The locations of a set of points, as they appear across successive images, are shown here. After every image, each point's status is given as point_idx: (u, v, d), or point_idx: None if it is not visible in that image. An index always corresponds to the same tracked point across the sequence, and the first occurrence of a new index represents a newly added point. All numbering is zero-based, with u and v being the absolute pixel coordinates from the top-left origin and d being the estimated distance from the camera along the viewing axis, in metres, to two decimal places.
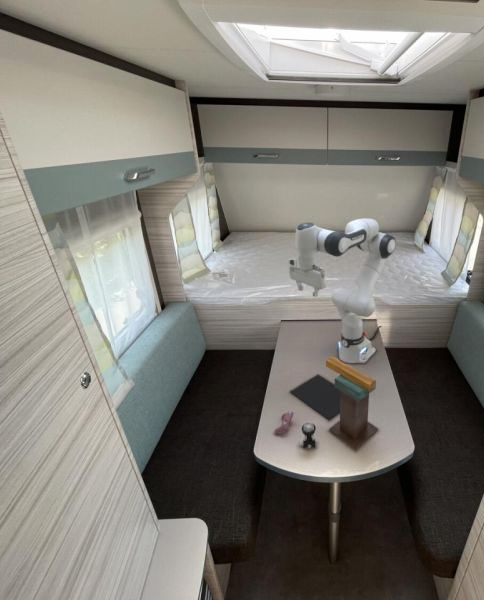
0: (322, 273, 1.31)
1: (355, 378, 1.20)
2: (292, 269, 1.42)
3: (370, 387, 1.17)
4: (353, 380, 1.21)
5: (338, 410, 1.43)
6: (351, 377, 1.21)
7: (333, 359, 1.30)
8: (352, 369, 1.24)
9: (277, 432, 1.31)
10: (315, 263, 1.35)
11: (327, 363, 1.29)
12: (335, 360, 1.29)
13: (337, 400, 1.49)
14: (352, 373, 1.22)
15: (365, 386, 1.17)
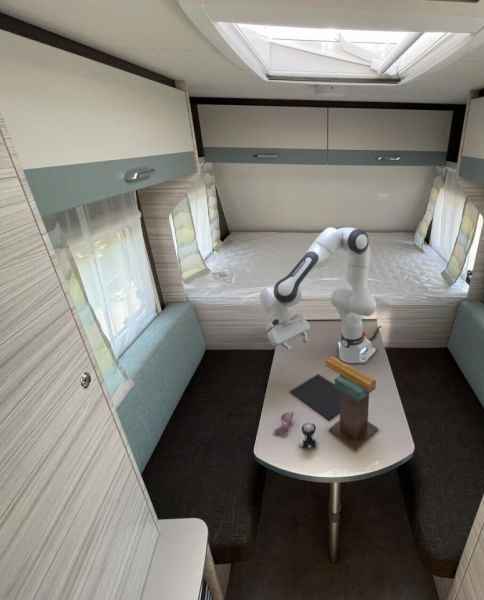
0: (301, 316, 1.52)
1: (355, 378, 1.20)
2: (275, 332, 1.39)
3: (370, 387, 1.17)
4: (353, 380, 1.21)
5: (338, 410, 1.43)
6: (351, 377, 1.21)
7: (333, 359, 1.30)
8: (352, 369, 1.24)
9: (277, 432, 1.31)
10: None
11: (327, 363, 1.29)
12: (335, 360, 1.29)
13: (337, 400, 1.49)
14: (352, 373, 1.22)
15: (365, 386, 1.17)
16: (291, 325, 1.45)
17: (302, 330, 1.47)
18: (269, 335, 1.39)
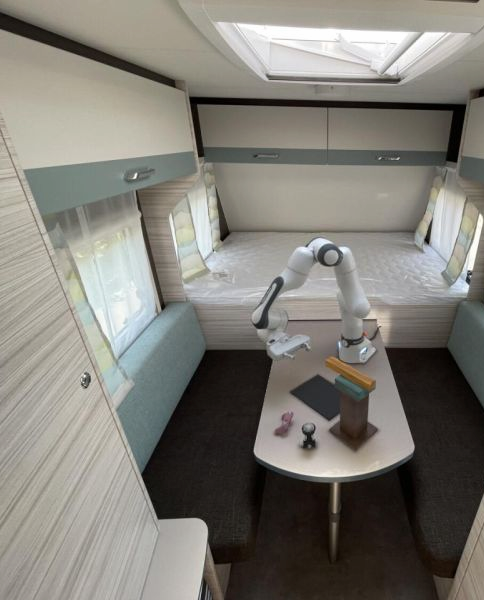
0: None
1: (355, 378, 1.20)
2: (274, 348, 1.44)
3: (370, 387, 1.17)
4: (353, 380, 1.21)
5: (338, 410, 1.43)
6: (351, 377, 1.21)
7: (333, 359, 1.30)
8: (352, 369, 1.24)
9: (277, 432, 1.31)
10: None
11: (327, 363, 1.29)
12: (335, 360, 1.29)
13: (337, 400, 1.49)
14: (352, 373, 1.22)
15: (365, 386, 1.17)
16: (290, 341, 1.50)
17: (302, 341, 1.49)
18: (270, 354, 1.44)
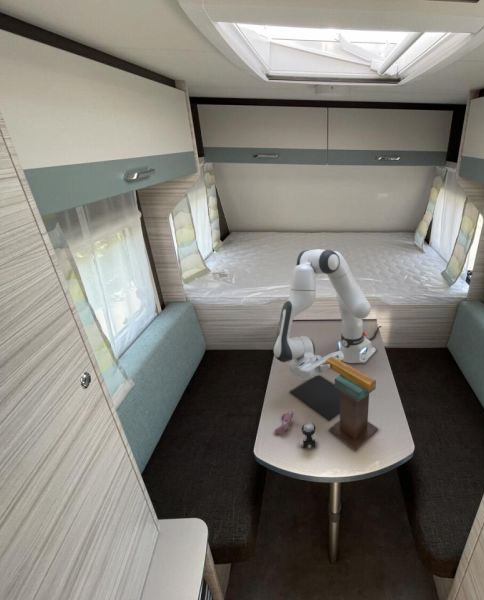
0: None
1: (355, 378, 1.20)
2: (305, 368, 1.31)
3: (370, 387, 1.17)
4: (353, 380, 1.21)
5: (338, 410, 1.43)
6: (351, 377, 1.21)
7: (333, 359, 1.30)
8: (352, 369, 1.24)
9: (277, 432, 1.31)
10: None
11: (327, 363, 1.29)
12: (335, 360, 1.29)
13: (337, 400, 1.49)
14: (352, 373, 1.22)
15: (365, 386, 1.17)
16: (321, 360, 1.37)
17: (333, 355, 1.36)
18: (302, 375, 1.30)
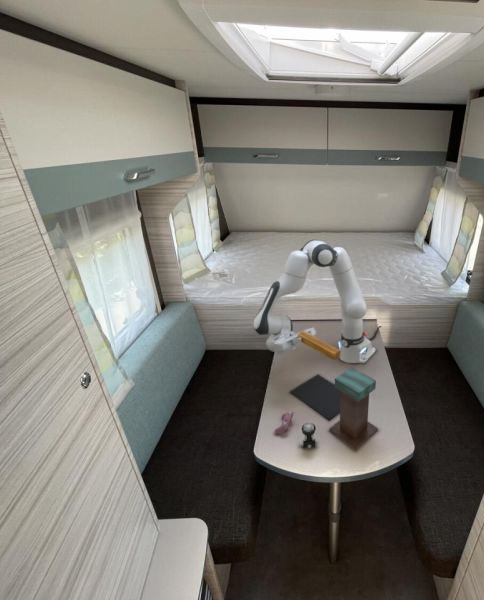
0: None
1: (323, 349, 1.31)
2: (278, 342, 1.42)
3: (335, 356, 1.27)
4: (321, 351, 1.32)
5: (338, 410, 1.43)
6: (319, 348, 1.32)
7: (304, 333, 1.40)
8: (320, 341, 1.34)
9: (277, 432, 1.31)
10: None
11: None
12: (306, 334, 1.40)
13: (337, 400, 1.49)
14: (320, 344, 1.32)
15: (331, 356, 1.28)
16: (294, 335, 1.48)
17: (305, 331, 1.47)
18: (276, 349, 1.41)
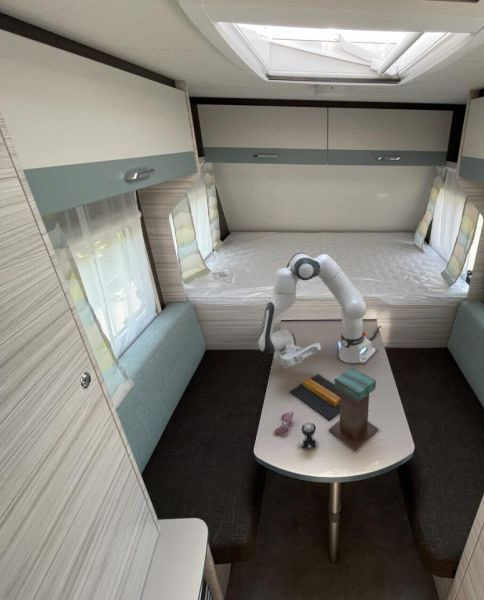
0: None
1: (325, 396, 1.48)
2: (286, 357, 1.51)
3: (337, 404, 1.45)
4: (324, 398, 1.49)
5: (338, 410, 1.43)
6: (322, 395, 1.49)
7: (308, 379, 1.58)
8: (323, 389, 1.52)
9: (277, 432, 1.31)
10: None
11: (304, 383, 1.57)
12: (310, 380, 1.57)
13: None
14: (323, 392, 1.50)
15: (333, 403, 1.45)
16: (301, 350, 1.57)
17: (311, 346, 1.56)
18: (284, 363, 1.50)
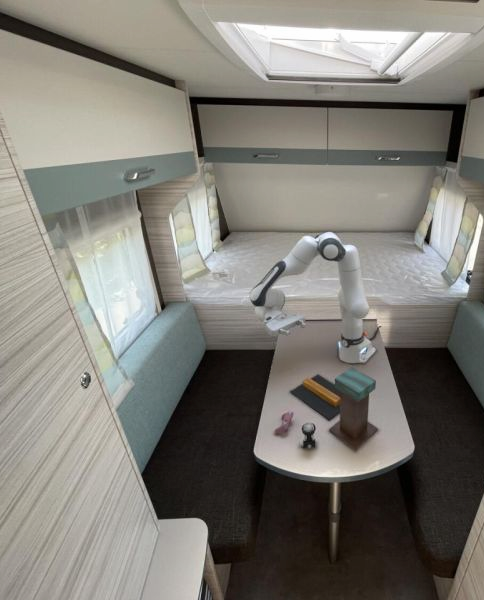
0: None
1: (325, 396, 1.48)
2: (270, 325, 1.52)
3: (337, 404, 1.45)
4: (324, 398, 1.49)
5: (338, 410, 1.43)
6: (322, 395, 1.49)
7: (308, 379, 1.58)
8: (323, 389, 1.52)
9: (277, 432, 1.31)
10: None
11: (304, 383, 1.57)
12: (310, 380, 1.57)
13: None
14: (323, 392, 1.50)
15: (333, 403, 1.45)
16: (286, 319, 1.58)
17: (297, 319, 1.57)
18: (267, 330, 1.52)
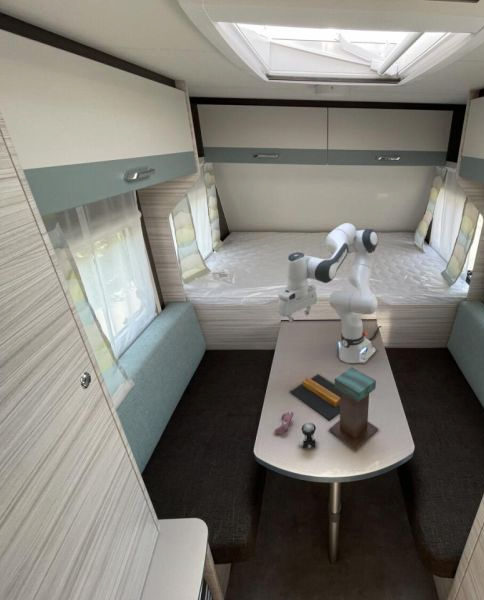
0: (314, 288, 1.50)
1: (325, 396, 1.48)
2: (287, 305, 1.39)
3: (337, 404, 1.45)
4: (324, 398, 1.49)
5: (338, 410, 1.43)
6: (322, 395, 1.49)
7: (308, 379, 1.58)
8: (323, 389, 1.52)
9: (277, 432, 1.31)
10: None
11: (304, 383, 1.57)
12: (310, 380, 1.57)
13: None
14: (323, 392, 1.50)
15: (333, 403, 1.45)
16: (303, 298, 1.45)
17: (309, 305, 1.49)
18: (280, 304, 1.39)
